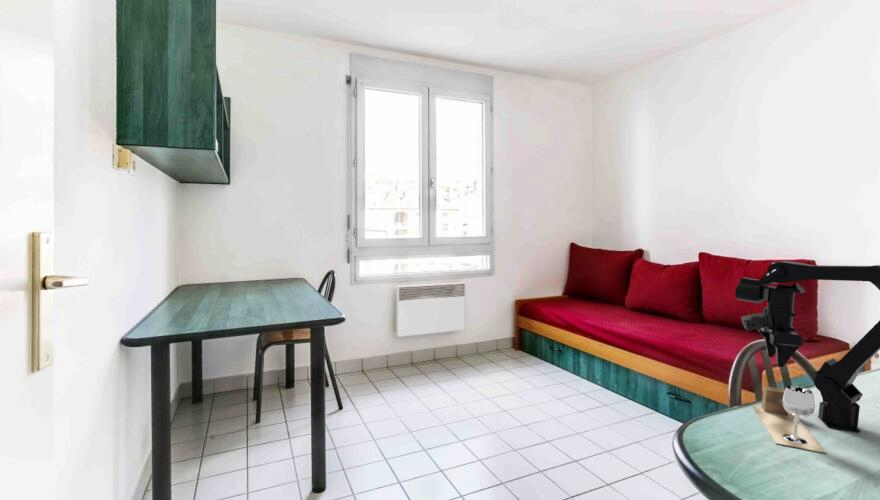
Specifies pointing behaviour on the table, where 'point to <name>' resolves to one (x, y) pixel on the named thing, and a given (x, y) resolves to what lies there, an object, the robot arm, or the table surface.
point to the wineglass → (797, 408)
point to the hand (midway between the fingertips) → (775, 361)
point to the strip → (783, 421)
